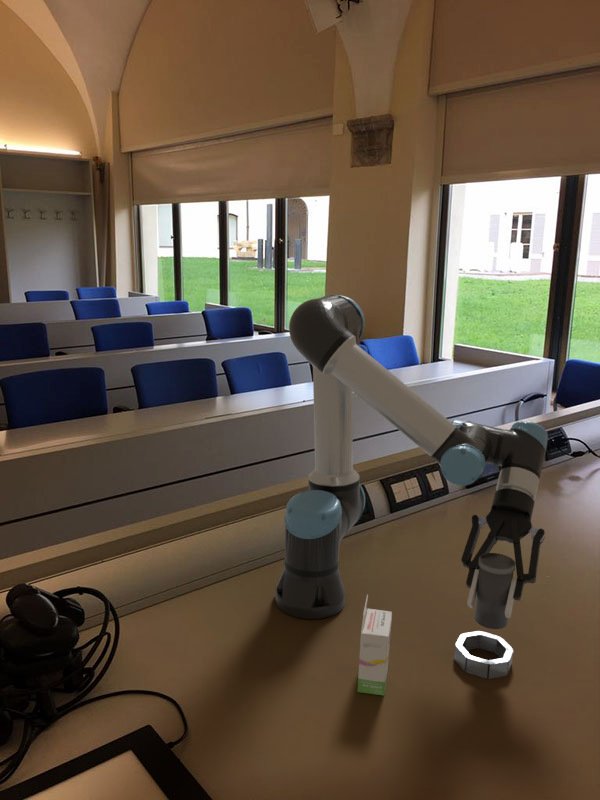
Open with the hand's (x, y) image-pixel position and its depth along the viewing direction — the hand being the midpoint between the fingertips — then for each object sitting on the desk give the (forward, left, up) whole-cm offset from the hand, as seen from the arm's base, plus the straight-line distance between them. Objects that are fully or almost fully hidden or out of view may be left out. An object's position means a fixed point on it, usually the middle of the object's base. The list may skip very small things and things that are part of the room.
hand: (488, 610), depth 121 cm
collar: (-1, +4, -13) cm, 13 cm away
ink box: (-17, -12, -13) cm, 24 cm away
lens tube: (0, +4, -4) cm, 5 cm away
